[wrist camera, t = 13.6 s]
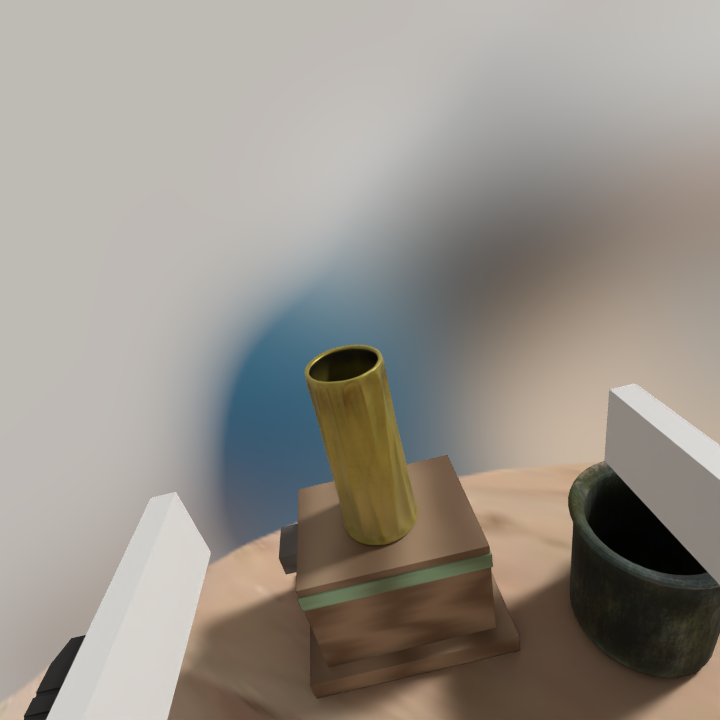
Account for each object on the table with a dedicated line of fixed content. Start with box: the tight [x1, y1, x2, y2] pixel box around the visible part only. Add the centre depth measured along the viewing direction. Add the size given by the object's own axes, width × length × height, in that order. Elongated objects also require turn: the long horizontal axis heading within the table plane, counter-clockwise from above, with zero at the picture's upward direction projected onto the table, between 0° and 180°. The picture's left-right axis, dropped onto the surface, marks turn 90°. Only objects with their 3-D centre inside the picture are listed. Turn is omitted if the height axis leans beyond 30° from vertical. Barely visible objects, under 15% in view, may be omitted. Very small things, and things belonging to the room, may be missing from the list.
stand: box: [279, 455, 520, 698], centre depth 37 cm, size 17×12×12 cm
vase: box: [305, 345, 418, 545], centre depth 31 cm, size 6×6×14 cm
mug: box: [568, 461, 720, 678], centre depth 33 cm, size 11×15×12 cm
